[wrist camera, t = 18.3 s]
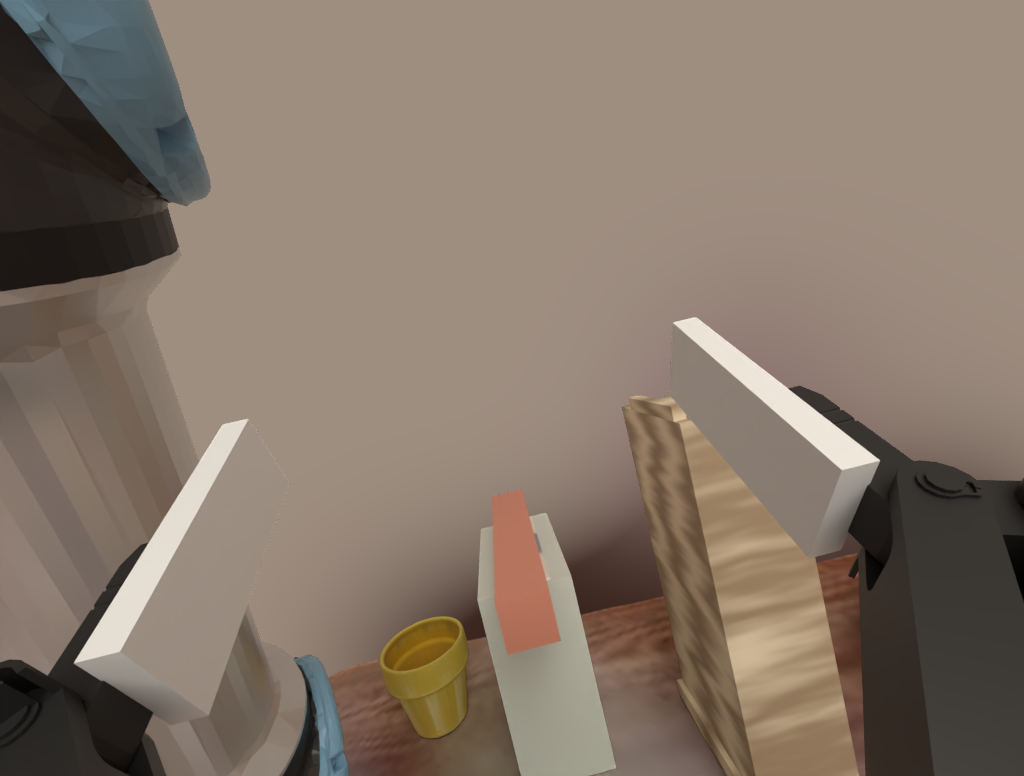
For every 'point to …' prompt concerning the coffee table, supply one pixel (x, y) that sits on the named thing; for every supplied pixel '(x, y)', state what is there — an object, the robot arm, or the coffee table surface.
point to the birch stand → (738, 607)
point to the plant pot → (429, 674)
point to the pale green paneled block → (547, 675)
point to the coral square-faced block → (520, 578)
